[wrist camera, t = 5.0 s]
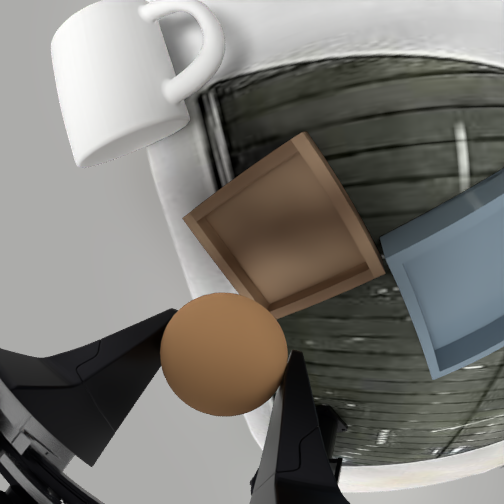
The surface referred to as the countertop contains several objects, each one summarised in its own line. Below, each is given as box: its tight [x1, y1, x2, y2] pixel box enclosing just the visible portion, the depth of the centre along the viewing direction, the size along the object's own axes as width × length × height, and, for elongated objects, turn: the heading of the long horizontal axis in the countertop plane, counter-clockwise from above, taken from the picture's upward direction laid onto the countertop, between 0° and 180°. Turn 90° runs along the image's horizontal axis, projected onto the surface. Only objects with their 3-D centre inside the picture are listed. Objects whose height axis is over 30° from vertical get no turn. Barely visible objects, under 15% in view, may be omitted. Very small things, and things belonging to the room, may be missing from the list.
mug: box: [51, 0, 225, 168], centre depth 13 cm, size 12×10×8 cm
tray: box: [182, 131, 386, 319], centre depth 18 cm, size 10×10×2 cm
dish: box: [380, 168, 504, 380], centre depth 14 cm, size 13×13×3 cm
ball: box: [160, 293, 288, 416], centre depth 9 cm, size 4×4×4 cm
